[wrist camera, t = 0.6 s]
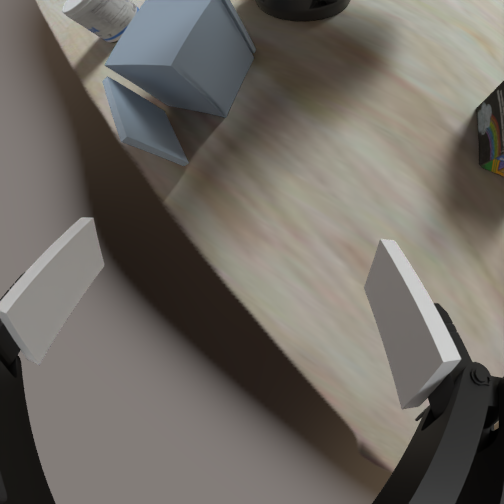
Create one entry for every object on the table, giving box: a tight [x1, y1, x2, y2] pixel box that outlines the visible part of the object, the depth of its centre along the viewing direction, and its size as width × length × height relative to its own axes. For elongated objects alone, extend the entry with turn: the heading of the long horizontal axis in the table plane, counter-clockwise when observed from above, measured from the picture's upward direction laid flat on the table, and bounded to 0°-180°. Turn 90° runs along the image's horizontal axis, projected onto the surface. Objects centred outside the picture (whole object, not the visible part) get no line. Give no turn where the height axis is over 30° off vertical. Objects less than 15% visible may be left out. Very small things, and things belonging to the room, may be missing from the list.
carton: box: [105, 0, 256, 118], centre depth 27 cm, size 11×10×14 cm
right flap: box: [102, 76, 189, 166], centre depth 29 cm, size 10×1×12 cm, turn 28°
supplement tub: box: [62, 0, 139, 42], centre depth 31 cm, size 10×10×15 cm
